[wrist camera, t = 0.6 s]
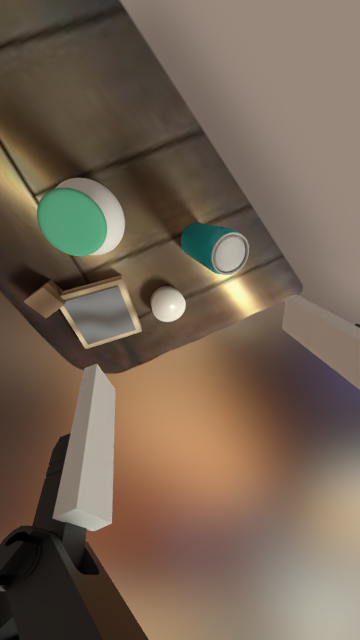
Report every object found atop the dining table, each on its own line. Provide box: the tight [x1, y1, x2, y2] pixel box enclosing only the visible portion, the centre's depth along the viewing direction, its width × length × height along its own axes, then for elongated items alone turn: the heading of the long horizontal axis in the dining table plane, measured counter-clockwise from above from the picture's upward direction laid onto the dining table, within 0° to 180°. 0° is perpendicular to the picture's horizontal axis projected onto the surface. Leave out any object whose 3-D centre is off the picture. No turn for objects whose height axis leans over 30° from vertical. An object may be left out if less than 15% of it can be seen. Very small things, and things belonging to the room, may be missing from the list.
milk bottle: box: [37, 178, 125, 256], centre depth 22 cm, size 8×8×20 cm
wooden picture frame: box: [60, 275, 142, 349], centre depth 37 cm, size 12×12×3 cm
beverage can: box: [181, 223, 249, 275], centre depth 30 cm, size 6×6×15 cm
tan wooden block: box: [24, 280, 66, 318], centre depth 32 cm, size 4×4×4 cm
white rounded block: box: [150, 286, 186, 322], centre depth 40 cm, size 7×7×3 cm
